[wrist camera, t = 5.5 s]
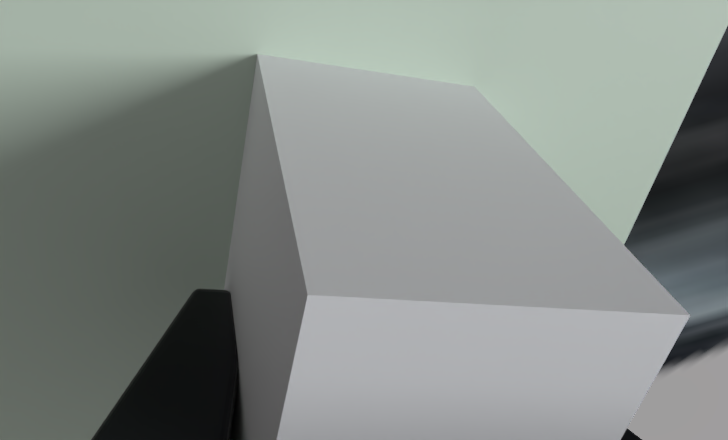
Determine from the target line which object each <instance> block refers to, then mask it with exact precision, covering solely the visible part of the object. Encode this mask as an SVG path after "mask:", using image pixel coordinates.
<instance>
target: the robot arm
mask: <svg viewBox="0 0 728 440" xmlns="http://www.w3.org/2000/svg"><path fill="white" fill-rule="evenodd" d="M238 368H239V365H238V352H237V343H236V335H235V326H234V318H233V309H232V301H231V293H230V292H229V291H227V290H218V289H196V290H194V291H193V292H192V293H191V295H190V296H189V298H188V299H187V301H186V302H185V304H184V305H183V306H182V308H181V309H180V311H179V312H178V314H177V315H176V317H175V318H174V320H173V321H172V323H171V324H170V325H169V327H168V328H167V330H166V331H165V333H164V334H163V336H162V337H161V339H160V340H159V341H158V343H157V344H156V346H155V347H154V349H153V350H152V352H151V353H150V355H149V356H148V357H147V359H146V360H145V362H144V363H143V365H142V366H141V368H140V369H139V371H138V372H137V373H136V375H135V376H134V378H133V379H132V381H131V382H130V384H129V385H128V387H127V388H126V389H125V391H124V392H123V394H122V395H121V397H120V398H119V400H118V401H117V403H116V404H115V405H114V407H113V408H112V410H111V411H110V413H109V414H108V416H107V417H106V419H105V420H104V421H103V423H102V424H101V426H100V427H99V429H98V430H97V432H96V433H95V435H94V436H93V437H92V439H91V440H230V433H231V426H232V418H233V410H234V403H235V395H236V387H237V380H238ZM621 440H642V439H640V438H639V437H638V436H636V435H635V434H634V433H632V432H631V431H630V430H629V429H626V431H625V433H624V435H623V436H622V438H621Z"/></svg>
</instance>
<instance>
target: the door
mask: <svg viewBox="0 0 728 440" xmlns="http://www.w3.org/2000/svg"><path fill="white" fill-rule="evenodd" d="M727 26H728V0H0V440H91V439H92V437H93V436H94V435H95V433H96V432H97V430H98V429H99V427H100V426H101V424H102V423H103V421H104V420H105V419H106V417H107V416H108V414H109V413H110V411H111V410H112V408H113V407H114V405H115V404H116V403H117V401H118V400H119V398H120V397H121V395H122V394H123V392H124V391H125V389H126V388H127V387H128V385H129V384H130V382H131V381H132V379H133V378H134V376H135V375H136V373H137V372H138V371H139V369H140V368H141V366H142V365H143V363H144V362H145V360H146V359H147V357H148V356H149V355H150V353H151V352H152V350H153V349H154V347H155V346H156V344H157V343H158V341H159V340H160V339H161V337H162V336H163V334H164V333H165V331H166V330H167V328H168V327H169V325H170V324H171V323H172V321H173V320H174V318H175V317H176V315H177V314H178V312H179V311H180V309H181V308H182V306H183V305H184V304H185V302H186V301H187V299H188V298H189V296H190V295H191V293H192V292H193V291H194V290H196V289H218V290H227V291H229V292H230V293H231V301H232V309H233V318H234V326H235V335H236V343H237V352H238V365H239V368H238V380H237V387H236V395H235V403H234V410H233V418H232V426H231V433H230V440H621V438H622V436H623V435H624V433H625V431H626V429H627V427H628V426H629V424H630V422H631V420H632V418H633V417H634V415H635V413H636V411H637V410H638V408H639V406H640V404H641V402H642V401H643V399H644V397H645V395H646V394H647V392H648V390H649V388H650V386H651V385H652V383H653V381H654V379H655V378H656V376H657V374H658V372H659V370H660V369H661V367H662V365H663V363H664V361H665V360H666V358H667V356H668V354H669V353H670V351H671V349H672V347H673V345H674V344H675V342H676V340H677V338H678V337H679V335H680V333H681V331H682V329H683V328H684V326H685V324H686V322H687V320H688V319H689V317H690V315H689V313H688V312H687V311H686V310H685V309H684V308H683V307H682V306H681V305H680V304H679V303H678V302H677V301H676V300H675V299H674V298H673V297H672V295H671V294H670V293H669V292H668V291H667V290H666V289H665V288H664V287H663V286H662V285H661V284H660V283H659V282H658V281H657V280H656V278H655V277H654V276H653V275H652V274H651V273H650V272H649V271H648V270H647V269H646V268H645V267H644V266H643V265H642V264H641V263H640V262H639V260H638V259H637V258H636V257H635V256H634V255H633V254H632V253H631V252H630V251H629V250H628V249H627V248H626V247H625V246H624V244H625V242H626V240H627V238H628V236H629V233H630V231H631V229H632V227H633V225H634V223H635V221H636V219H637V217H638V214H639V212H640V210H641V208H642V206H643V204H644V202H645V200H646V197H647V195H648V193H649V191H650V189H651V187H652V185H653V183H654V181H655V178H656V176H657V174H658V172H659V170H660V168H661V166H662V164H663V161H664V159H665V157H666V155H667V153H668V151H669V149H670V147H671V145H672V142H673V140H674V138H675V136H676V134H677V132H678V130H679V128H680V125H681V123H682V121H683V119H684V117H685V115H686V113H687V111H688V109H689V106H690V104H691V102H692V100H693V98H694V96H695V94H696V92H697V89H698V87H699V85H700V83H701V81H702V79H703V77H704V75H705V72H706V70H707V68H708V66H709V64H710V62H711V60H712V58H713V56H714V53H715V51H716V49H717V47H718V45H719V43H720V41H721V39H722V36H723V34H724V32H725V30H726V28H727Z"/></svg>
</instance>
